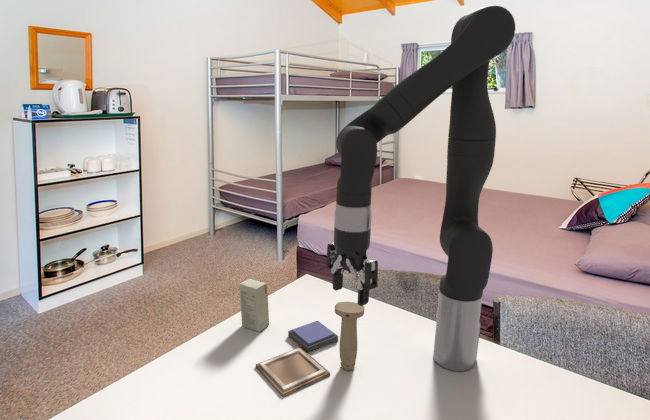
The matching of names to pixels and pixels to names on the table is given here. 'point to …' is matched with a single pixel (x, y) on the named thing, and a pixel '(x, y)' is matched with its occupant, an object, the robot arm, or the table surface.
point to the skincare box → (254, 304)
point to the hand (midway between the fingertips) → (349, 296)
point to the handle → (348, 332)
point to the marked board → (292, 371)
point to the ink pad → (312, 336)
